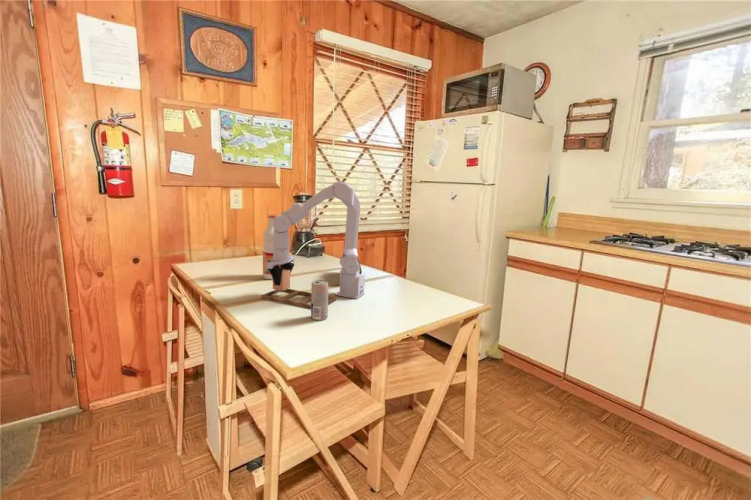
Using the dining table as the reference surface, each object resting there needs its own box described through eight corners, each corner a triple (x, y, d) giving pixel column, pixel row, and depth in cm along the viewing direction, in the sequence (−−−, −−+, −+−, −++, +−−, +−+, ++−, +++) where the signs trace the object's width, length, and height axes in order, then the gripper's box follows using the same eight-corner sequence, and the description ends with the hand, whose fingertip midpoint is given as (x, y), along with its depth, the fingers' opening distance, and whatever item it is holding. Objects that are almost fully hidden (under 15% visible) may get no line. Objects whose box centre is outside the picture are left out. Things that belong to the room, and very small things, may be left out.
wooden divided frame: (336, 300, 136) (336, 297, 136) (319, 310, 125) (319, 306, 125) (281, 290, 145) (281, 287, 145) (261, 298, 134) (261, 295, 134)
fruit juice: (277, 273, 170) (277, 213, 165) (288, 277, 164) (289, 215, 159) (258, 276, 163) (258, 214, 158) (270, 281, 157) (269, 216, 152)
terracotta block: (289, 287, 139) (289, 270, 138) (282, 290, 135) (282, 272, 134) (280, 286, 141) (280, 268, 139) (272, 288, 137) (272, 270, 135)
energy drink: (319, 313, 122) (320, 279, 120) (331, 317, 119) (332, 282, 117) (307, 317, 118) (308, 282, 116) (318, 322, 115) (319, 285, 113)
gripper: (284, 244, 143) (284, 277, 145) (259, 249, 130) (260, 286, 132) (299, 246, 140) (299, 280, 143) (275, 252, 127) (275, 289, 130)
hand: (281, 283), depth 137 cm, fingers closed on terracotta block, 4 cm apart
